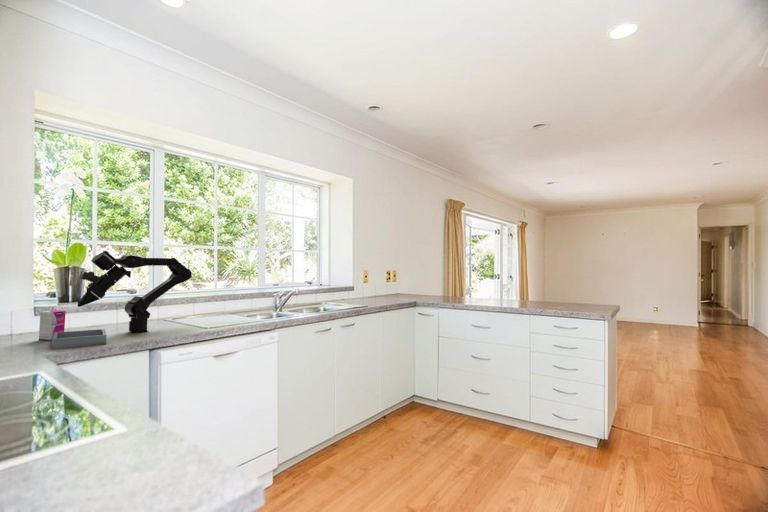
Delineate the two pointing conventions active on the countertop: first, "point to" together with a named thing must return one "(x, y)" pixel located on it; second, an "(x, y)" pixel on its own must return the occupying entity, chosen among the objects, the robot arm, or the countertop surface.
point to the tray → (78, 338)
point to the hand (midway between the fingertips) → (78, 305)
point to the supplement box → (51, 324)
